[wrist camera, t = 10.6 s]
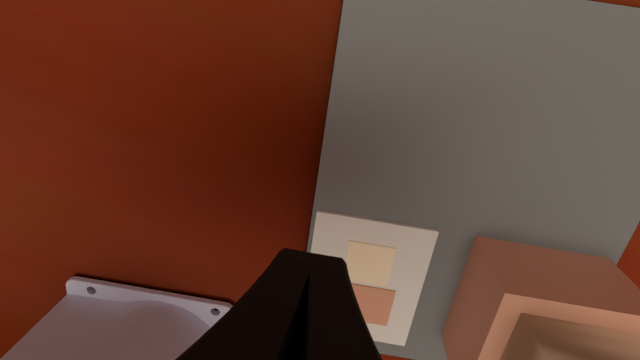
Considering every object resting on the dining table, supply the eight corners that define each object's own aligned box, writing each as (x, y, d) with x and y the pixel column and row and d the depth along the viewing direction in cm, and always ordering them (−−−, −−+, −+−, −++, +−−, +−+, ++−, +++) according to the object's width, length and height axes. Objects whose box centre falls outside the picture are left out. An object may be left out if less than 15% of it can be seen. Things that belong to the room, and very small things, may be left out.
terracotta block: (441, 334, 20) (459, 405, 17) (475, 235, 18) (504, 292, 14) (557, 354, 20) (601, 430, 17) (607, 257, 18) (672, 321, 14)
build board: (296, 324, 22) (293, 338, 22) (349, -33, 15) (348, -36, 14) (545, 368, 22) (553, 383, 21) (720, 22, 15) (744, 23, 14)
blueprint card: (299, 324, 21) (298, 329, 21) (317, 209, 18) (316, 212, 18) (404, 343, 21) (404, 347, 21) (438, 229, 18) (439, 232, 18)
